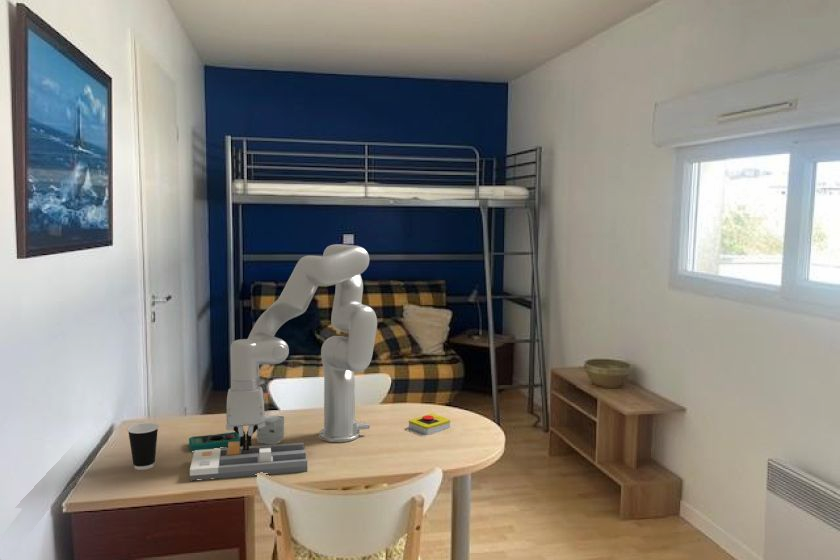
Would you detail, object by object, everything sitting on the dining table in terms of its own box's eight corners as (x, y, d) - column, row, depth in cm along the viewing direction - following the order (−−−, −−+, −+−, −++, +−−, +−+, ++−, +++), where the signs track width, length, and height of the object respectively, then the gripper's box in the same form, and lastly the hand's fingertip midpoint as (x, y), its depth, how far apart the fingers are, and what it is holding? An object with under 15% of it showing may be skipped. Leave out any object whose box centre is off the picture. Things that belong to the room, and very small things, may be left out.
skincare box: (256, 443, 193) (256, 419, 193) (267, 436, 199) (267, 413, 198) (274, 445, 191) (274, 421, 191) (284, 438, 197) (284, 415, 196)
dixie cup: (166, 464, 176) (165, 425, 175) (141, 474, 169) (140, 434, 168) (146, 458, 180) (145, 420, 178) (121, 468, 173) (120, 428, 172)
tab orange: (241, 453, 180) (241, 440, 179) (241, 458, 176) (241, 445, 176) (226, 454, 179) (226, 441, 178) (226, 459, 175) (226, 446, 175)
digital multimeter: (243, 447, 191) (242, 437, 190) (190, 454, 185) (190, 444, 184) (239, 439, 197) (239, 430, 197) (188, 445, 191) (188, 436, 191)
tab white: (272, 460, 175) (272, 447, 175) (273, 465, 172) (272, 452, 171) (257, 461, 174) (257, 448, 174) (257, 466, 171) (257, 453, 170)
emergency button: (404, 417, 207) (436, 408, 218) (403, 430, 208) (436, 421, 218) (423, 424, 201) (456, 415, 211) (423, 438, 201) (456, 428, 211)
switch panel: (303, 452, 186) (303, 441, 186) (307, 471, 172) (307, 459, 172) (194, 461, 178) (194, 449, 178) (190, 481, 165) (189, 469, 165)
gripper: (272, 379, 182) (273, 442, 184) (217, 382, 178) (218, 446, 180) (273, 386, 175) (273, 451, 176) (216, 389, 171) (217, 455, 173)
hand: (246, 448), depth 178 cm, fingers closed
